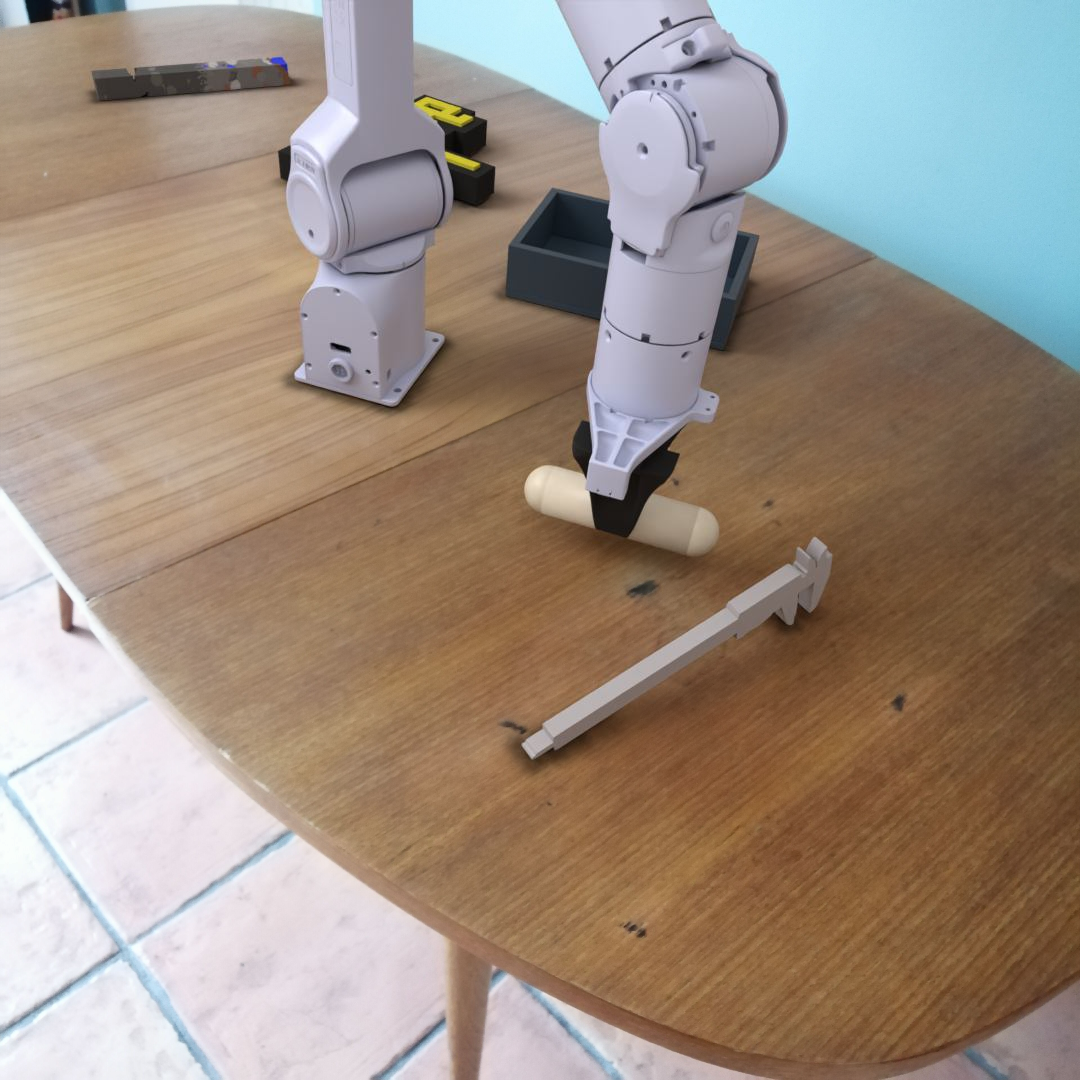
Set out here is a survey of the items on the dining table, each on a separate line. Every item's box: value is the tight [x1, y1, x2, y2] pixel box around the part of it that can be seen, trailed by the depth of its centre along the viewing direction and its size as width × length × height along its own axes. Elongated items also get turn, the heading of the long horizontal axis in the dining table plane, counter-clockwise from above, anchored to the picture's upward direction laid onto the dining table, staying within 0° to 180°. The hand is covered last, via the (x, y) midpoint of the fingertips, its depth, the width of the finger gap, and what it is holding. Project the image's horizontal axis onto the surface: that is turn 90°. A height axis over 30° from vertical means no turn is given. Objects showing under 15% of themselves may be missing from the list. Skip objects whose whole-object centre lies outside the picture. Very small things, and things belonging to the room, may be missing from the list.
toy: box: [277, 94, 497, 206], centre depth 97 cm, size 18×3×20 cm
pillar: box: [90, 56, 292, 101], centre depth 107 cm, size 2×2×20 cm
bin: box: [504, 187, 760, 351], centre depth 84 cm, size 11×18×5 cm, turn 72°
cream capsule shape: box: [523, 464, 720, 558], centre depth 60 cm, size 3×12×3 cm, turn 72°
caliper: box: [521, 536, 833, 760], centre depth 54 cm, size 20×1×6 cm, turn 124°
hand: (620, 511), depth 60 cm, fingers closed on cream capsule shape, 3 cm apart
